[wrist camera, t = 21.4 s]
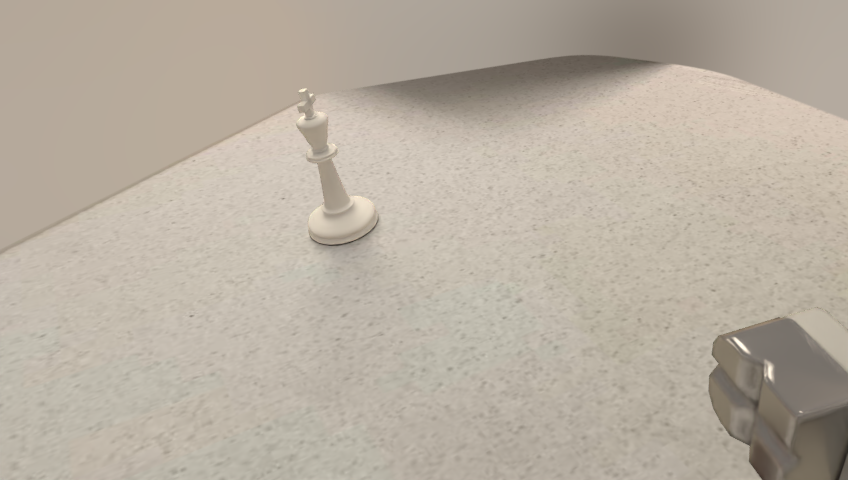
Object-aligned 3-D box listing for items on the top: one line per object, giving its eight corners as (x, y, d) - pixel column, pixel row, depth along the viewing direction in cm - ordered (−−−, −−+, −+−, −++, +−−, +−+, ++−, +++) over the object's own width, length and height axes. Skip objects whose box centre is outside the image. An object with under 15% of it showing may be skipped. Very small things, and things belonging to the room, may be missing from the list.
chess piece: (298, 244, 44) (249, 110, 38) (324, 203, 48) (283, 76, 42) (365, 245, 43) (324, 106, 37) (386, 203, 46) (353, 70, 41)
